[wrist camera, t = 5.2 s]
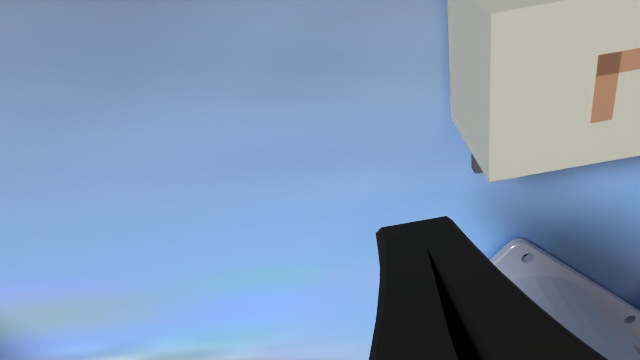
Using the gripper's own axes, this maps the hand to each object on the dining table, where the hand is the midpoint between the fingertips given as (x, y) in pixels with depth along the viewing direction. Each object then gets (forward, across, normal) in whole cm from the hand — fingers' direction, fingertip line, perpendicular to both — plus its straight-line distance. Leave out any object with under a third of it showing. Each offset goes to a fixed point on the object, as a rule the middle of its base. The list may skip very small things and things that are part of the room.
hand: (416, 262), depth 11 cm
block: (+7, -7, 0) cm, 10 cm away
